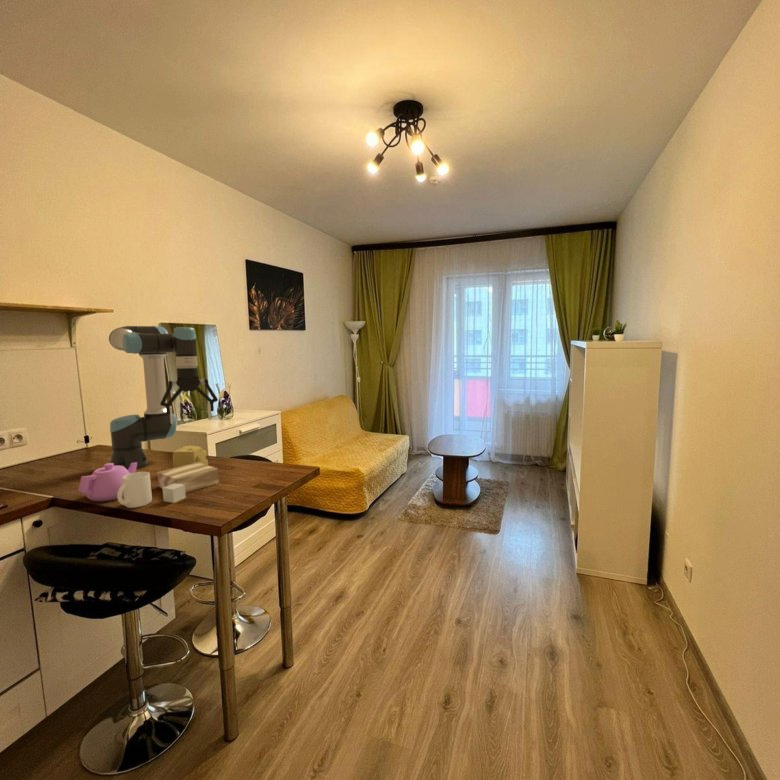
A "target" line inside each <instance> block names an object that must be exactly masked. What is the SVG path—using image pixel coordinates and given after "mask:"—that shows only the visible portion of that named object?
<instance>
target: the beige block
mask: <svg viewBox="0 0 780 780" xmlns="http://www.w3.org/2000/svg"><path fill="white" fill-rule="evenodd" d="M162 497H163V502H167V503H173V504H174V503H177V502H179V501H182V500H184V499H186V497H187V496H186V493H185V485H183V484H176V483H174V484H171V485H169V486H166V487H163V489H162Z"/></svg>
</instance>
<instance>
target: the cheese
mask: <svg viewBox="0 0 780 780" xmlns="http://www.w3.org/2000/svg"><path fill="white" fill-rule="evenodd" d="M207 456H208V453H207V451H206V449H205V450H204V449H203V448H202V446H197V445H185V446H184V445H183V446H182V447H181V448H178V449H177V450H176V449H175V450H174V451H172V464H173V465H172V466H173V467H172V468H176V467H180V466H184V465H188V464H192V463H196V462H197V463H201V464H204V465H208V466H209V460H208V458H207Z"/></svg>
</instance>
